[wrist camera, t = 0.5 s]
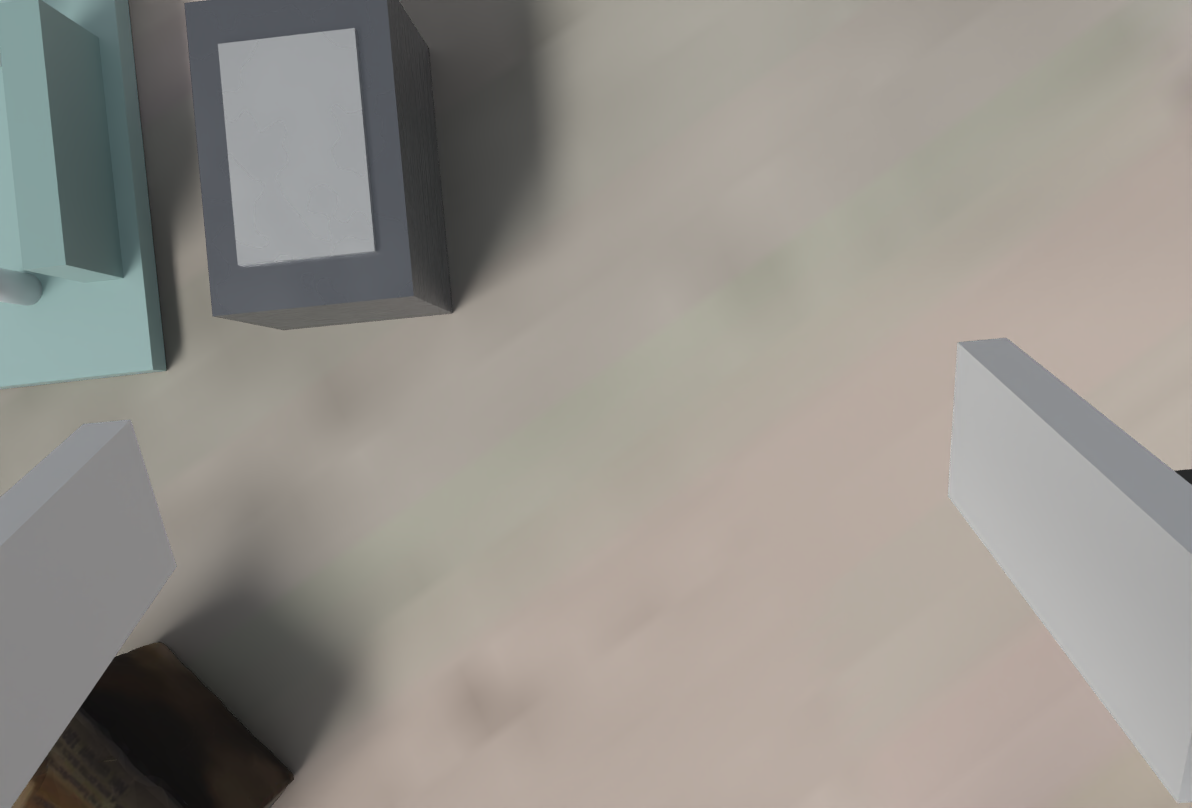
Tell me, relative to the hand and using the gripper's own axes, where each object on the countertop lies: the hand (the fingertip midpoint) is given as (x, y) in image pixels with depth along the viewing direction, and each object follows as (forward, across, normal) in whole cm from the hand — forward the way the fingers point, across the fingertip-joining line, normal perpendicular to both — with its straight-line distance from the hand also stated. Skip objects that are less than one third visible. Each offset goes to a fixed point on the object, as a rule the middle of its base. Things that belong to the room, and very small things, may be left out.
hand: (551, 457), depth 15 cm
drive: (+23, +8, -1) cm, 24 cm away
